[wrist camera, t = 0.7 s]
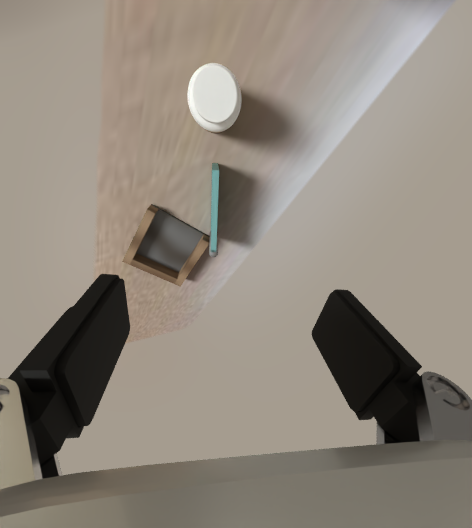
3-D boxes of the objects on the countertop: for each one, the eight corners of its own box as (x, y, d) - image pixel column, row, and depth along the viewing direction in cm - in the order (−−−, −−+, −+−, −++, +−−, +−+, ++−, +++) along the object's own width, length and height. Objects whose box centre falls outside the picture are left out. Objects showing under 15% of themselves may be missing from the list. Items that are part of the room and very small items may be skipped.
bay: (151, 204, 32) (147, 209, 29) (209, 236, 35) (209, 243, 33) (127, 253, 36) (122, 261, 34) (182, 278, 40) (180, 286, 37)
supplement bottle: (235, 132, 28) (245, 131, 19) (195, 133, 27) (188, 132, 19) (234, 79, 25) (246, 52, 16) (190, 79, 24) (178, 52, 16)
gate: (219, 163, 29) (220, 170, 23) (216, 236, 35) (217, 257, 30) (210, 162, 29) (210, 169, 23) (209, 236, 35) (209, 256, 29)
